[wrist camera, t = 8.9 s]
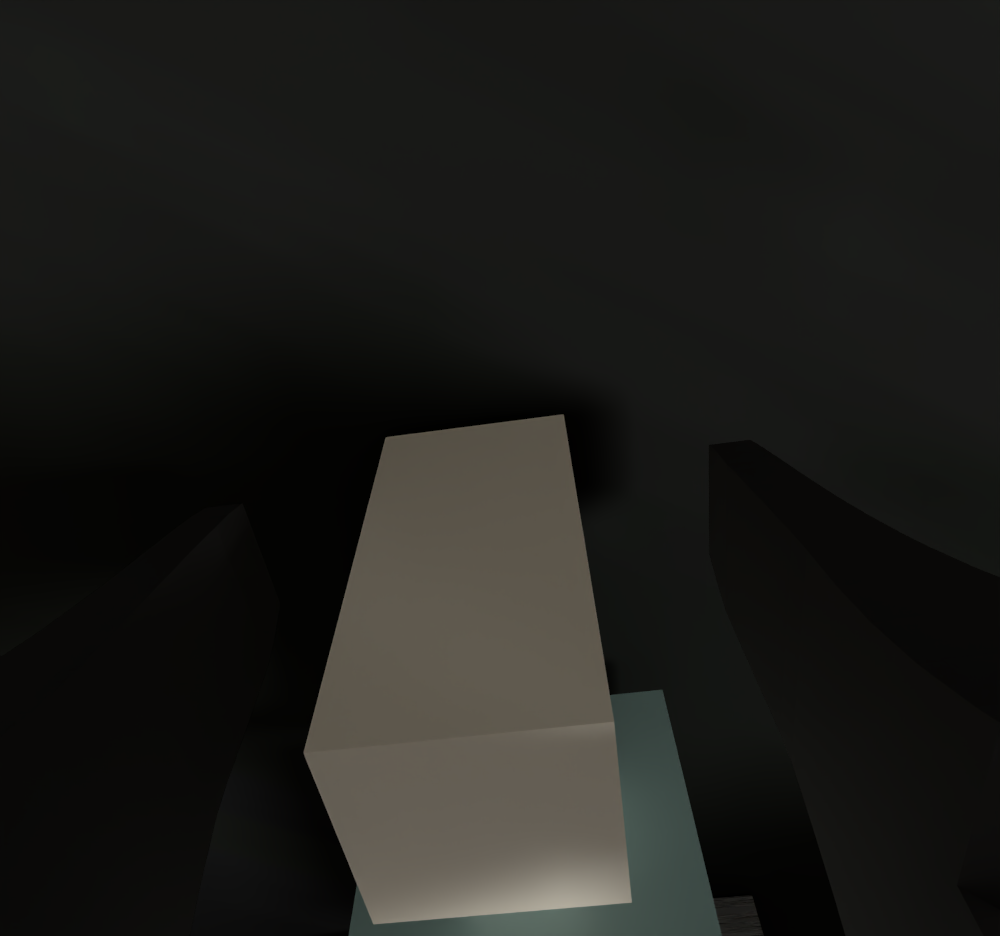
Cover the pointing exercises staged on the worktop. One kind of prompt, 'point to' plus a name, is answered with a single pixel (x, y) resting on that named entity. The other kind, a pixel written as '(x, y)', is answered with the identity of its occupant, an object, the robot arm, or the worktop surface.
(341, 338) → the worktop surface
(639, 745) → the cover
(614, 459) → the worktop surface
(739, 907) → the block
